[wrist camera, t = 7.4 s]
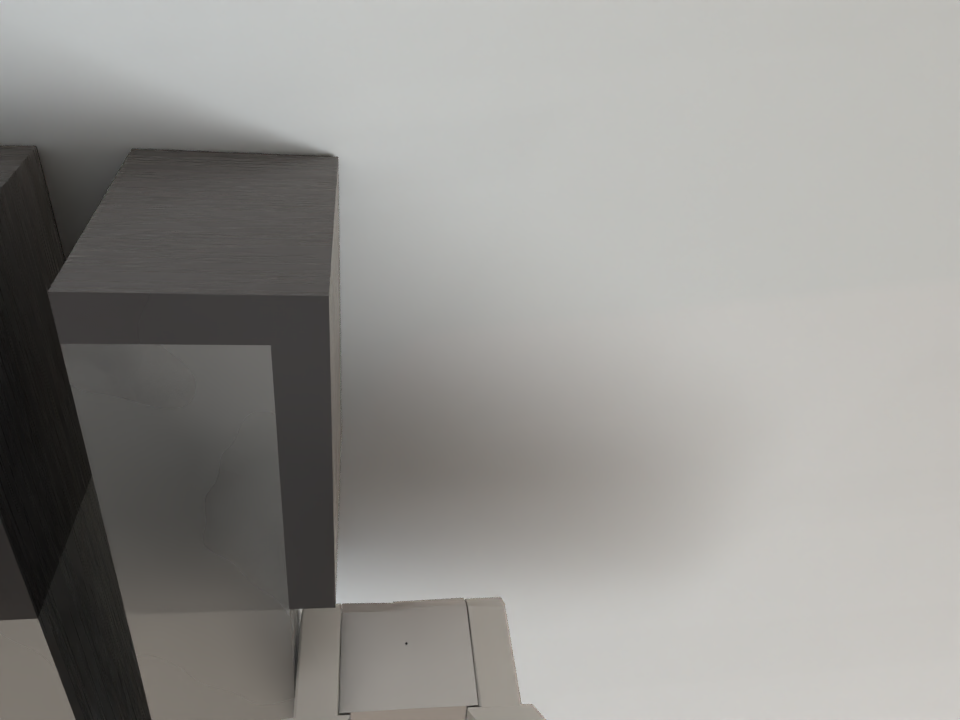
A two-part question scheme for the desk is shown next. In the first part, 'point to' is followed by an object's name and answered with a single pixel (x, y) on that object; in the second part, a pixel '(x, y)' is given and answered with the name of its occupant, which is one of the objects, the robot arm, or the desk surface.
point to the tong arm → (212, 414)
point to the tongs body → (50, 495)
